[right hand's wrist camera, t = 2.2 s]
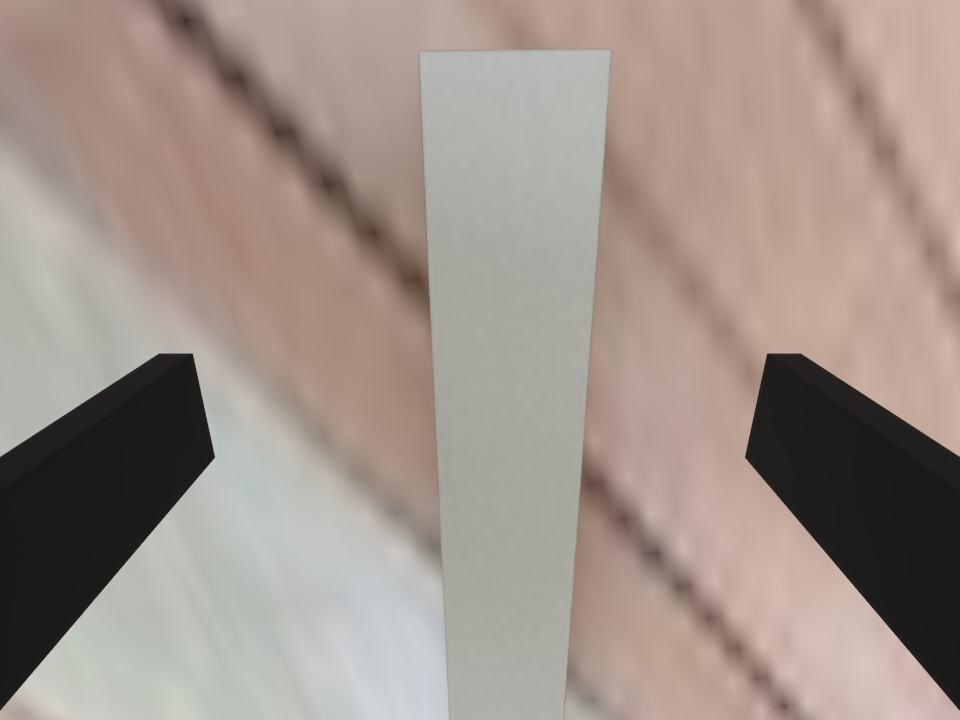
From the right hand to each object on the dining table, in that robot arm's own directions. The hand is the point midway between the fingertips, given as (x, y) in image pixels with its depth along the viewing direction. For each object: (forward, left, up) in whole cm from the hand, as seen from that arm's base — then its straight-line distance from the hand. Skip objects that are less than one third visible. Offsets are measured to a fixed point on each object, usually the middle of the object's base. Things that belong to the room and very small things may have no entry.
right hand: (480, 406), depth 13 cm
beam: (+21, -3, -15) cm, 26 cm away
